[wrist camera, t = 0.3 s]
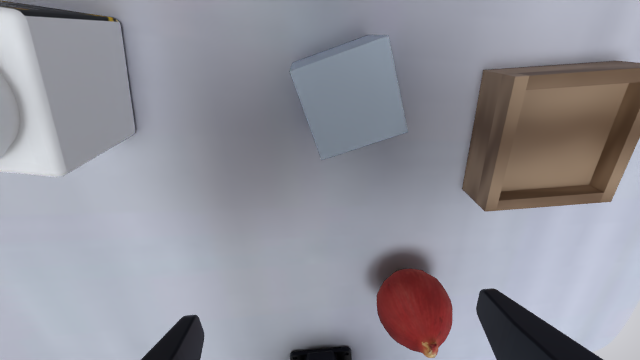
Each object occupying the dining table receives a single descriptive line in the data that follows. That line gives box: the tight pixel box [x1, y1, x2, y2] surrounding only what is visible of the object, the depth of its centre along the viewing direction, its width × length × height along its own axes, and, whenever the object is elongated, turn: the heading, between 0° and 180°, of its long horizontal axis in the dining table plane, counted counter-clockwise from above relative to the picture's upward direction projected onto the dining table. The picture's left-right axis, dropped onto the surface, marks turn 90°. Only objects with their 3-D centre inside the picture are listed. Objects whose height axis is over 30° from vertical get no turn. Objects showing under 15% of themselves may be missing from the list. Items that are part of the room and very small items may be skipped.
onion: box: [377, 269, 452, 358], centre depth 24 cm, size 6×6×8 cm
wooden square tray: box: [462, 61, 640, 211], centre depth 20 cm, size 9×9×4 cm
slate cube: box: [289, 35, 408, 160], centre depth 18 cm, size 5×5×5 cm
